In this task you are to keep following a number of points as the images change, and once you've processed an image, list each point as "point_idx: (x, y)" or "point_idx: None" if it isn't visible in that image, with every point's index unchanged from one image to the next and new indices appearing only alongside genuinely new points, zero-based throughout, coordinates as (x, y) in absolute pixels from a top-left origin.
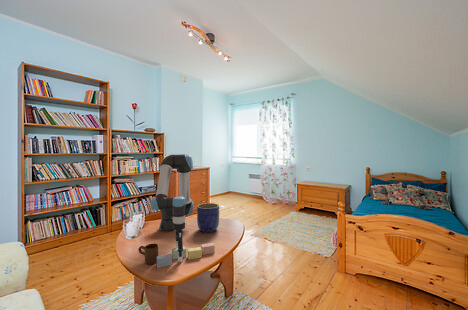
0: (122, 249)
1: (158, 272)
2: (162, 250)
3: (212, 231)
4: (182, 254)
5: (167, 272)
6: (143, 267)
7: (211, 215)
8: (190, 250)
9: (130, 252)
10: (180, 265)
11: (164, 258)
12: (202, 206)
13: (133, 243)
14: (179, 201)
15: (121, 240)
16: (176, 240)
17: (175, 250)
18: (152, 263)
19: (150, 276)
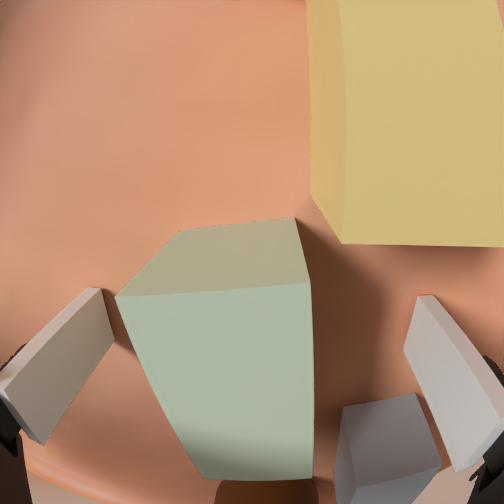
0: (95, 499)
1: (444, 445)
2: (83, 417)
3: None
4: (481, 359)
5: None
6: (324, 501)
7: None
8: (477, 179)
9: (121, 500)
10: (481, 318)
11: (415, 493)
12: None
13: (37, 463)
14: None
15: (29, 470)
16: (21, 451)
17: (293, 462)
18: (317, 491)
19: (447, 462)
